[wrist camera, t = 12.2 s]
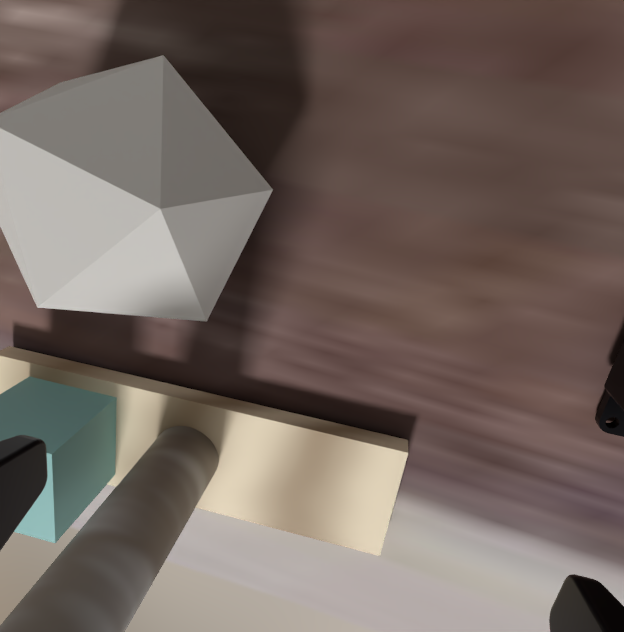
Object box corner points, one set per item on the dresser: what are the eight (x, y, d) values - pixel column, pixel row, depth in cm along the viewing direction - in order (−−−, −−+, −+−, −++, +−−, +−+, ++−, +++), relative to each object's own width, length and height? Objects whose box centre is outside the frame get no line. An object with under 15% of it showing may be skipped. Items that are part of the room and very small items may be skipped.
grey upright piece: (408, 440, 22) (423, 878, 9) (380, 539, 24) (359, 1014, 11) (9, 346, 24) (-465, 584, 11) (16, 445, 26) (-373, 746, 13)
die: (78, 82, 20) (-121, 239, 15) (188, -52, 14) (-84, 135, 9) (213, 226, 24) (93, 387, 19) (343, 171, 18) (218, 385, 13)
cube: (116, 397, 22) (51, 453, 18) (115, 474, 24) (55, 542, 20) (29, 376, 23) (-54, 427, 19) (33, 453, 24) (-42, 515, 20)
